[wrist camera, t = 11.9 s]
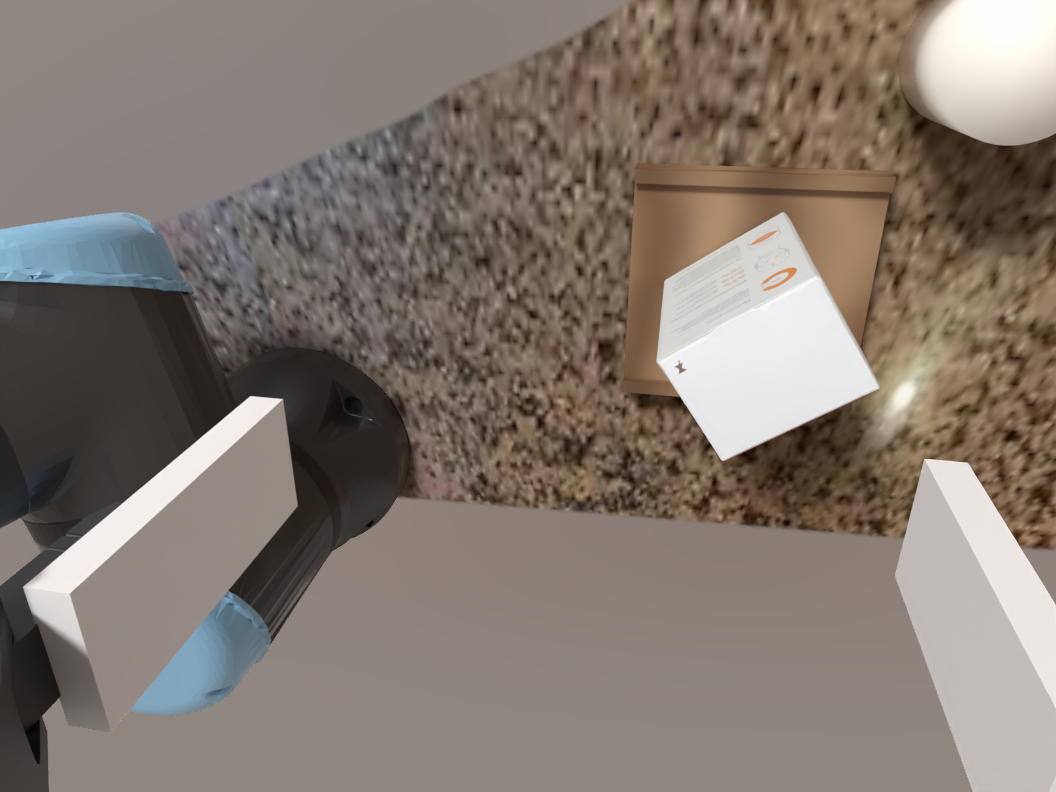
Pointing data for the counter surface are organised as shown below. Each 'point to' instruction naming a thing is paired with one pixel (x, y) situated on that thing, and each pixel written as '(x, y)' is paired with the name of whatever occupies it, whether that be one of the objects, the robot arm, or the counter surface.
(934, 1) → the white cylinder
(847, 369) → the small box
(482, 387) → the counter surface
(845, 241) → the walnut board
